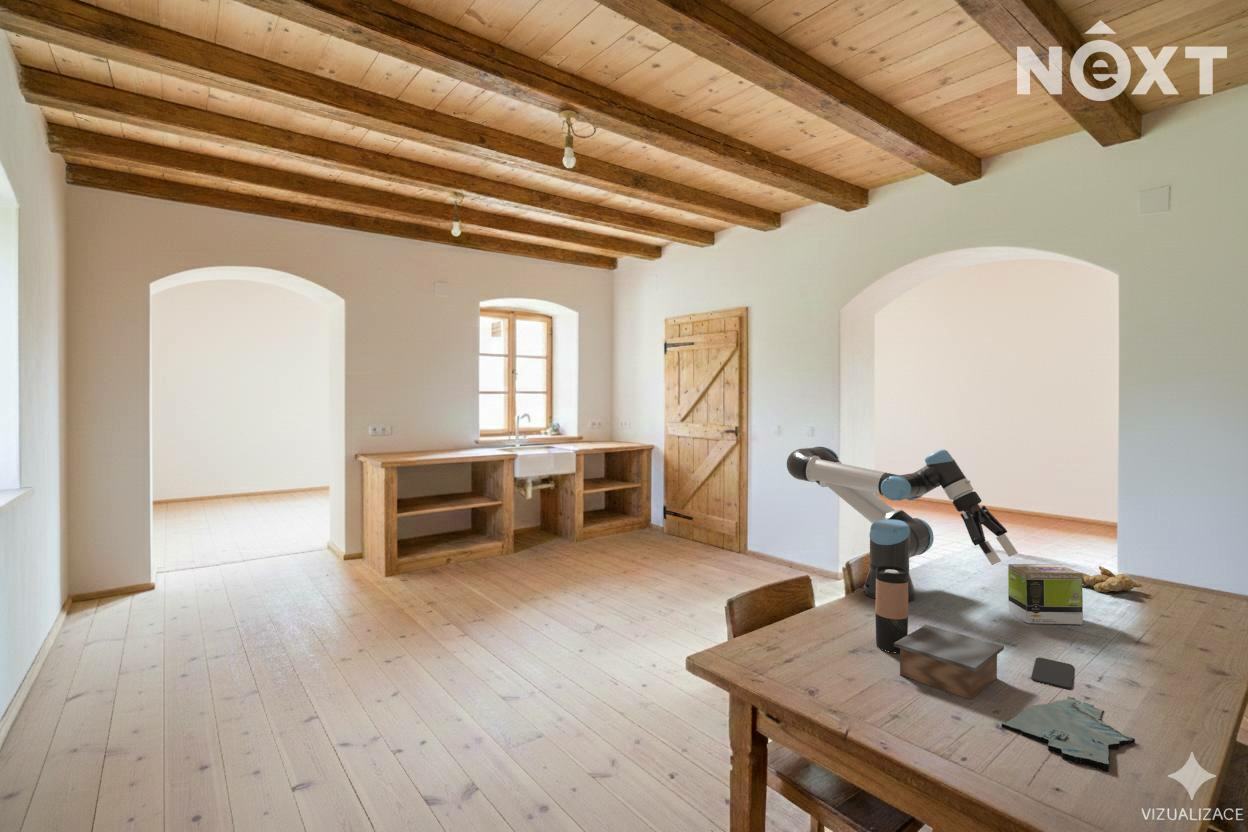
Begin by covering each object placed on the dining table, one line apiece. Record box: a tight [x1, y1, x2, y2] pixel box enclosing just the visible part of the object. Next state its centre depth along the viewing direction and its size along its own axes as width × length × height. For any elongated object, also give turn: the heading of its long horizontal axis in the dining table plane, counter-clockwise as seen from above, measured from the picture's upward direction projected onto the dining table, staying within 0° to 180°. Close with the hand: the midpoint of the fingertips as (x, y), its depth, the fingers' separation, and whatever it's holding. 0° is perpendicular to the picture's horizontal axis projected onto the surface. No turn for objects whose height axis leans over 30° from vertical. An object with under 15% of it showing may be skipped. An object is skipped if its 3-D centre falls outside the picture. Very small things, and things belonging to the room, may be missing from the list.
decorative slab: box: [1001, 696, 1136, 773], centre depth 115 cm, size 26×24×2 cm
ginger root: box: [1078, 565, 1143, 594], centre depth 198 cm, size 16×16×8 cm
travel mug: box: [874, 566, 909, 654], centre depth 153 cm, size 8×8×20 cm
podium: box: [894, 624, 1005, 700], centre depth 137 cm, size 17×17×7 cm
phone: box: [1031, 657, 1075, 690], centre depth 139 cm, size 7×1×15 cm
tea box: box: [1007, 563, 1084, 626], centre depth 173 cm, size 15×10×15 cm
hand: (1005, 559), depth 180 cm, fingers open, 13 cm apart
